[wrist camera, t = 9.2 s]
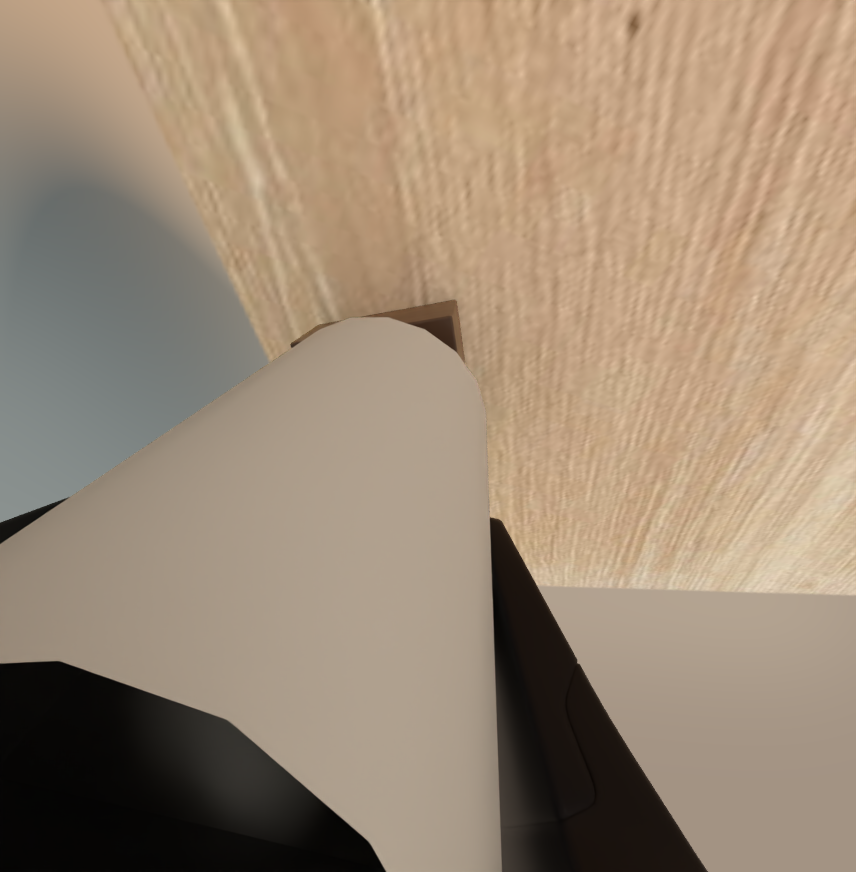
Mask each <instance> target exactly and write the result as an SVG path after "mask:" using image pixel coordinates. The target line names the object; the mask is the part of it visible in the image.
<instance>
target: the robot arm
mask: <svg viewBox="0 0 856 872" xmlns="http://www.w3.org/2000/svg"><path fill="white" fill-rule="evenodd" d="M69 498H70V497H69ZM67 499H68V498H66V499H63V500H61V501H58V502H55V503H52V504H49V505H47V506H44V507H41V508H39V509H36V510H33V511H31V512H28V513H25V514H23V515H20V516H17V517H14V518H12V519H9V520H6V521H3V522H1V523H0V544H1V543H3V542H4V541H6V540H7V539H9V538H10V537H11V536H13V535H14V534H16V533H17V532H19V531H20V530H22V529H23V528H25V527H26V526H28V525H29V524H31V523H32V522H34V521H35V520H37V519H38V518H40V517H41V516H43V515H44V514H46V513H47V512H49V511H50V510H52V509H53V508H55V507H56V506H58V505H59V504H61V503H62V502H64V501H65V500H67ZM490 540H491V569H492V598H493V627H494V655H495V684H496V713H497V742H498V771H499V800H500V829H501V858H502V872H708V871H707V870H706V868H705V867H704V865H703V864H702V863H701V861H700V859H699V858H698V857H697V855H696V853H695V852H694V850H693V849H692V847H691V846H690V844H689V842H688V841H687V839H686V838H685V837H684V835H683V833H682V831H681V830H680V828H679V827H678V825H677V824H676V822H675V821H674V819H673V818H672V816H671V814H670V813H669V811H668V810H667V808H666V806H665V805H664V803H663V802H662V800H661V799H660V797H659V795H658V794H657V792H656V791H655V789H654V788H653V786H652V784H651V783H650V781H649V780H648V778H647V777H646V775H645V773H644V772H643V770H642V769H641V767H640V766H639V764H638V762H637V761H636V760H635V758H634V756H633V755H632V753H631V752H630V750H629V748H628V747H627V745H626V743H625V742H624V740H623V739H622V737H621V735H620V734H619V732H618V730H617V729H616V727H615V725H614V724H613V722H612V721H611V719H610V718H609V716H608V714H607V712H606V710H605V709H604V707H603V705H602V703H601V702H600V700H599V698H598V697H597V695H596V693H595V691H594V689H593V688H592V686H591V684H590V682H589V680H588V679H587V677H586V675H585V673H584V671H583V669H582V668H581V666H580V664H578V663H577V659H576V657H575V655H574V653H573V651H572V649H571V648H570V646H569V644H568V642H567V640H566V638H565V637H564V635H563V633H562V631H561V629H560V628H559V626H558V624H557V622H556V620H555V618H554V617H553V615H552V613H551V611H550V609H549V607H548V605H547V604H546V602H545V600H544V598H543V596H542V594H541V593H540V591H539V589H538V587H537V585H536V583H535V581H534V580H533V578H532V576H531V574H530V572H529V570H528V569H527V567H526V565H525V563H524V561H523V559H522V558H521V556H520V554H519V552H518V550H517V548H516V547H515V545H514V543H513V541H512V539H511V537H510V536H509V534H508V532H507V530H506V528H505V526H504V525H503V523H502V521H501V520H499V519H495V518H491V517H490Z"/></svg>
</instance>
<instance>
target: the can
mask: <svg viewBox="0 0 856 872" xmlns="http://www.w3.org/2000/svg"><path fill="white" fill-rule="evenodd" d="M0 872H502V858H501V829H500V800H499V771H498V742H497V713H496V684H495V655H494V627H493V598H492V569H491V540H490V511H489V482H488V453H487V424H486V409H485V406H484V402H483V399H482V396H481V392H480V389H479V385H478V382H477V380H476V379H475V377H474V376H473V374H472V373H471V372H470V370H469V369H468V368H467V366H466V365H465V363H464V362H463V361H462V359H461V358H460V356H459V355H458V354H457V352H455V351H454V350H453V349H451V348H450V347H449V346H447V345H446V344H444V343H443V342H442V341H440V340H439V339H438V338H436V337H435V336H433V335H432V334H431V333H429V332H428V331H427V330H425V329H422V328H419V327H416V326H413V325H410V324H407V323H404V322H401V321H398V320H395V319H392V318H389V317H351V318H348V319H346V320H343V321H340V322H338V323H335V324H333V325H330V326H327V327H325V328H322V329H320V330H318V331H316V332H315V333H313V334H312V335H310V336H309V337H308V338H306V339H305V340H303V341H302V342H300V343H299V344H297V345H296V346H294V347H293V348H291V349H290V350H288V351H287V352H285V353H284V354H282V355H281V356H279V357H278V358H276V359H275V360H273V361H272V362H270V363H269V364H267V365H266V366H264V367H263V368H261V369H260V370H259V371H257V372H255V373H254V374H252V375H251V376H249V377H248V378H247V379H245V380H244V381H242V382H241V383H239V384H238V385H236V386H235V387H233V388H232V389H230V390H229V391H227V392H226V393H224V394H223V395H221V396H220V397H218V398H217V399H215V400H214V401H212V402H211V403H209V404H208V405H206V406H205V407H203V408H202V409H200V410H199V411H197V412H196V413H194V414H193V415H191V416H190V417H189V418H187V419H186V420H184V421H183V422H181V423H180V424H178V425H177V426H175V427H174V428H172V429H171V430H169V431H168V432H166V433H165V434H163V435H162V436H160V437H159V438H157V439H156V440H154V441H153V442H151V443H150V444H148V445H147V446H146V447H144V448H142V449H141V450H140V451H138V452H137V453H135V454H133V455H132V456H131V457H129V458H128V459H126V460H125V461H123V462H122V463H120V464H119V465H117V466H116V467H114V468H113V469H111V470H110V471H108V472H107V473H105V474H104V475H102V476H101V477H99V478H98V479H96V480H95V481H93V482H92V483H91V484H89V485H88V486H86V487H84V488H83V489H81V490H80V491H78V492H77V493H76V494H74V495H72V496H71V497H70V498H68V499H67V500H65V501H64V502H62V503H61V504H59V505H58V506H56V507H55V508H53V509H52V510H50V511H49V512H47V513H46V514H44V515H43V516H41V517H40V518H38V519H37V520H35V521H34V522H32V523H31V524H29V525H28V526H26V527H25V528H23V529H22V530H20V531H19V532H17V533H16V534H14V535H13V536H11V537H10V538H9V539H7V540H6V541H4V542H3V543H1V544H0Z"/></svg>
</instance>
